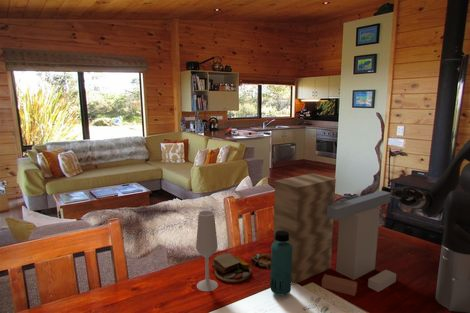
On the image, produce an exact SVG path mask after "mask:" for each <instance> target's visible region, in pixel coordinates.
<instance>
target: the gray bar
mask: <svg viewBox="0 0 470 313" xmlns="http://www.w3.org/2000/svg"><path fill="white" fill-rule="evenodd" d="M391 200H392V199H391V193H389V192H385V191H381V190H379V191H376V192H372V193H369V194H365V195H362V196H361V195H360V196H359V197H354V198H352V199H348V200H344V201H341V202H336V203H334V204H333V205H330V206H327V217H328V218H331V219H333V221H334V220H335V221H338V220H339V219H341V218H344V217H348V216H351V215H354V214H357V213H360V212H363V211H366V210H369V209H372V208H375V207H376V208H379V207H381V206H384V205H386V204H389V203H391Z"/></svg>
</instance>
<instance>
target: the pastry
mask: <svg viewBox="0 0 470 313" xmlns="http://www.w3.org/2000/svg"><path fill="white" fill-rule="evenodd" d="M250 260H251V261H252V264H251V263H249V264H250V267H256V264H258V265H259V266H260V267H266V269H267V270H271V253H262V254H261V252H258V253H257V254H253V255H252V256H251V259H250Z"/></svg>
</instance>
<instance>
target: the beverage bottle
mask: <svg viewBox="0 0 470 313" xmlns="http://www.w3.org/2000/svg"><path fill="white" fill-rule="evenodd" d="M275 240H277V241H276V242H274V243H273V242H272V244H271V245H270V246H271V248H270V250H271V252H270V257H271V269H270V277H269V278H270V282H269V285H270V286H269V288H270V291H271V292H272V293H273V294H274V295H278V296H287V295H288V294H290V293H291V290H292V283H291V272H292V271H291V270H292V269H291V265H292V245H291V244H290V243H288V242H287V241H289V233H288V232H287V231H283V230H280V231H277V232H276V234H275Z"/></svg>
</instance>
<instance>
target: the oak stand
mask: <svg viewBox="0 0 470 313" xmlns="http://www.w3.org/2000/svg"><path fill="white" fill-rule="evenodd" d="M336 180H337V179H336V178H333V177H328V176H325V175H321V174H317V173H313V172H311V173H307V174H302V175H297V176H293V177H288V178H287V177H286V178H281V179H278V180H277V179H276V180H274V202H273V203H274V206H273V207H274V208H273V242H272V244H273V243H274V242H276V241H277V240H275V234H276V232H277V231H280V230H283V231H287V232H288V233H289V241H287V242H288V243H290V244H291V245H292V265H291V269H292V270H291V271H292V272H291V282H292V283H296V284H298V283H301V282H303V281H305V280H307V279H309V278H312V277H314V276H316V275H318V274H320V273H322V272H325V271H327V270H329V269H331V268H332V267H331V264H332V248H333V247H332V246H333V230H334V219H331V218H328V217H327V206H330V205H333V204H335V197H336V196H335V195H336ZM292 283H291V284H292Z"/></svg>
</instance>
